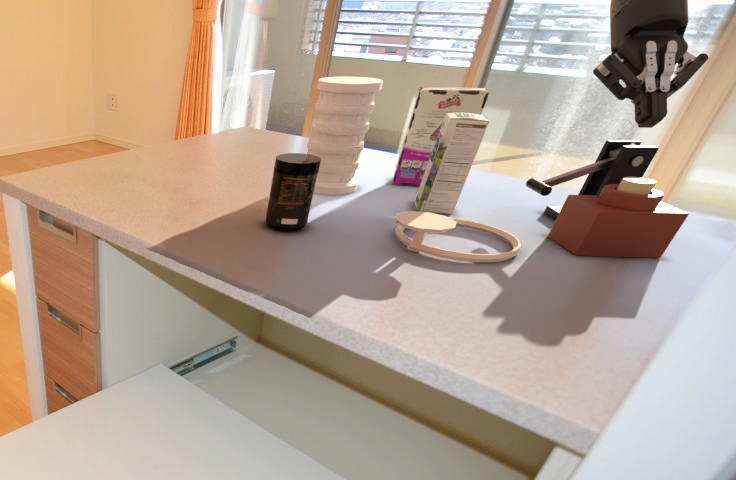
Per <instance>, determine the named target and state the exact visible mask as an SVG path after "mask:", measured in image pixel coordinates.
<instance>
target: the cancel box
mask: <svg viewBox="0 0 736 480" xmlns="http://www.w3.org/2000/svg"><path fill="white" fill-rule="evenodd" d="M618 186H619V184H610V185H605V186H604V188H603V190H602V191H601V193H600V195H578V194H568V195H567V197H566V199H565V200H564V203H563V205H562V206H563V207H562V209H561V211H560V212H559V214H558V216H557V218H556V220H554V222H553V224H552V227H551V228H550V230H549V232H548V234H547V237H548V238H550V239H551V240H552V241H554V242H555V243H557V244H558V245H560V246H561V247H562V248H564V249H565V250H567V251H568V252H569V253H571V254H573V255H574V256H581V257H583V256H585V257H586V256H587V257H612V258H613V257H614V258H615V257H616V258H643V259H661V258H662V256H663V255H664V253H665V251H666V250H667V248H668V247H669V245H670V244H671V243H672V241H673V240H674V238H675V236H676V235H677V233H678V232H679V230H680V229H681V227H682V226H683V224H684V222H685V221H686V220H687V218H688V216H689V215H690V213H689V212H686V211H684V210H681V209H679V208H678V207H675V206H673V205H671V204H668V203H666V202H664V201H662V200H663V198H664V197H665V194H664V191H662V190H658V189H656V188H653V189H652V191H651V192H650V194H649V195H638V194H631V193H625V192H621V191H618V190H617V188H618Z"/></svg>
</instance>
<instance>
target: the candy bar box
mask: <svg viewBox="0 0 736 480" xmlns="http://www.w3.org/2000/svg"><path fill="white" fill-rule="evenodd" d="M489 94H490V91H489V89H488V88H487V87H486V88H485V87H484V88H483V87H441V86H440V87H439V86H438V87H435V86H433V87H429V86H428V87H427V86H425V87H424V86H421V87H419V88H418V91H417V95H416V98H415V101H414V105H413V108H412V112H411V115H410V118H409V121H408V125H407V129H406V132H405V135H404V139H403V142H402V145H401V149H400V152H399V155H398V158H397V162H396V166H395V170H394V172H393V177H392V185H394V186H405V187H418V188H419V187H420V184H421V181H422V178H423V176H424V173H425V170H426V167H427V164H428V162H429V159H430V156H431V153H432V151H433V148H434V145H435V142H436V140H437V137H438V134H439V131H440V129H441V126H442V123H443V120H444V117H445V115H446V113H472V114H478V115H483V111H484V108H485V105H486V103H487V101H488V99H489V98H488V97H489Z"/></svg>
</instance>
